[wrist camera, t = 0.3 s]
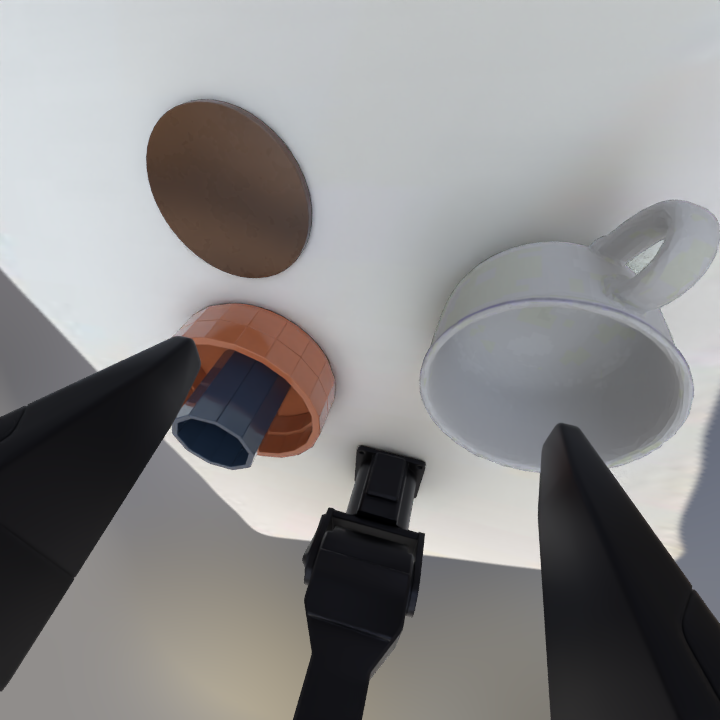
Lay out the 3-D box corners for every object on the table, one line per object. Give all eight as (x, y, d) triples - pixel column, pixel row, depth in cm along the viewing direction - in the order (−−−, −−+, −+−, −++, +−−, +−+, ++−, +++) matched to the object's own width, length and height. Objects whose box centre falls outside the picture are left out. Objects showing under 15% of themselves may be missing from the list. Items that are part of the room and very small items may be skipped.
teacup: (532, 395, 28) (540, 499, 22) (403, 314, 26) (376, 406, 20) (767, 244, 18) (889, 363, 12) (587, 99, 16) (633, 159, 10)
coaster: (315, 285, 26) (312, 290, 26) (179, 259, 27) (174, 264, 27) (308, 110, 19) (303, 113, 19) (127, 88, 20) (119, 91, 20)
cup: (296, 402, 34) (259, 477, 29) (231, 386, 35) (183, 456, 30) (291, 352, 30) (247, 429, 25) (217, 335, 31) (159, 407, 26)
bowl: (337, 430, 37) (321, 472, 33) (208, 398, 39) (182, 435, 35) (338, 319, 27) (316, 362, 24) (169, 284, 29) (129, 320, 26)
